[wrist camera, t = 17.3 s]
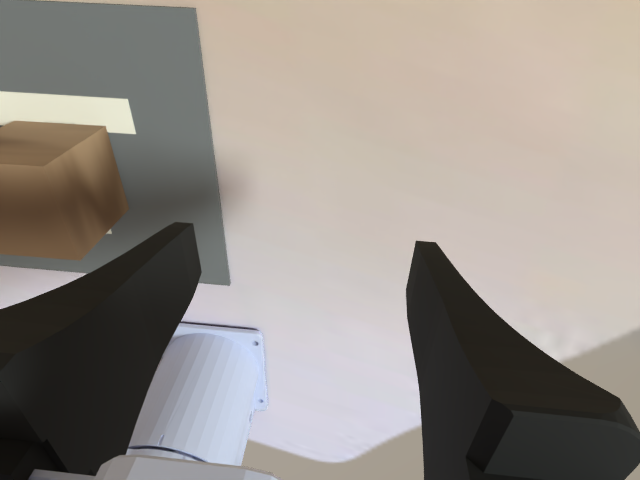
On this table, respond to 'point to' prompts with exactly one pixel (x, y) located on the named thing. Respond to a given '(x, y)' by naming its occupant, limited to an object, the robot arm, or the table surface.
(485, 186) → the table surface
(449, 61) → the table surface
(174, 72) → the letter mat
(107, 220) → the walnut cube
